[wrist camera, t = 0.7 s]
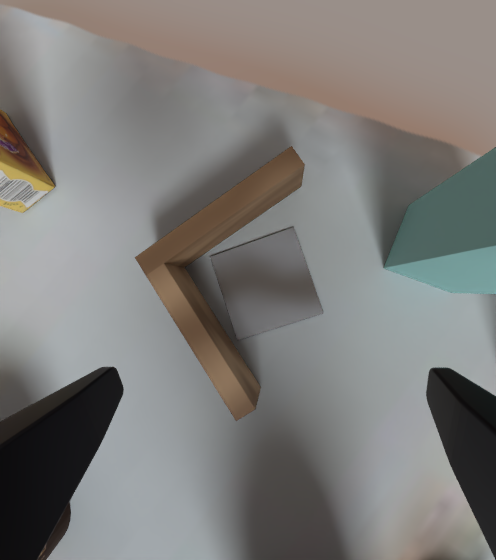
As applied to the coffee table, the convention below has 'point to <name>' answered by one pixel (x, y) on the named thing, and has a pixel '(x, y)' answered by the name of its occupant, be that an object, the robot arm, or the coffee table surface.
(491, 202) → the teal block
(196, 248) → the corner arena
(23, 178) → the candy box
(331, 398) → the coffee table surface
